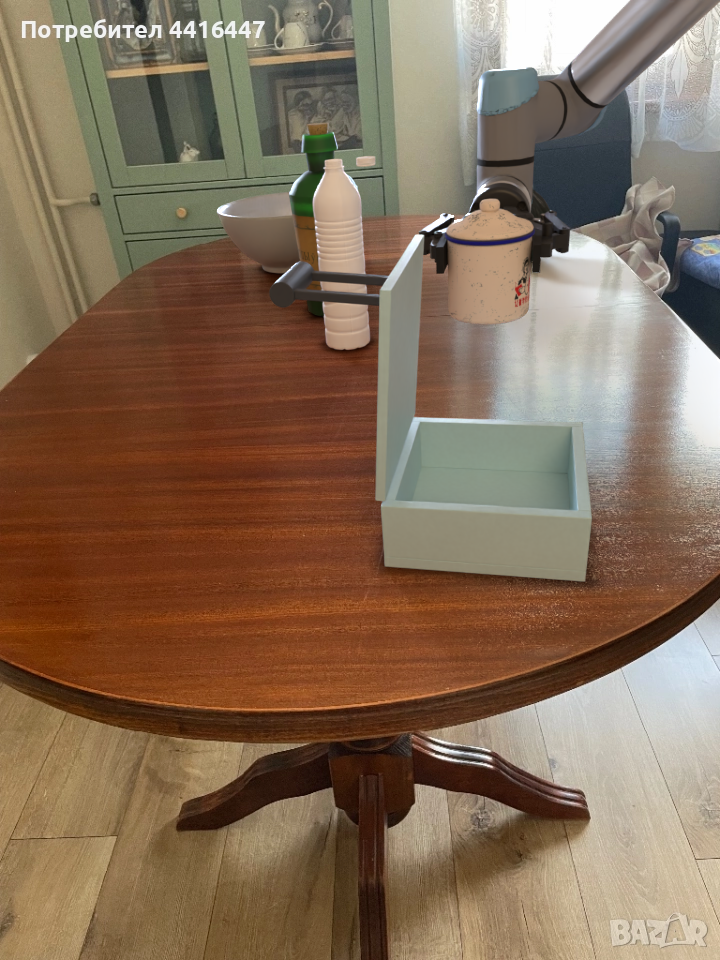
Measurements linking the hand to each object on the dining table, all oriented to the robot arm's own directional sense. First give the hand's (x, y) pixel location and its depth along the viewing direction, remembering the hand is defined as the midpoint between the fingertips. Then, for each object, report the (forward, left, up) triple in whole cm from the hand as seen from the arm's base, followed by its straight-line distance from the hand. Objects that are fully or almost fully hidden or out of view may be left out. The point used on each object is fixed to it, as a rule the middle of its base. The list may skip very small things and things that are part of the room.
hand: (487, 259), depth 73 cm
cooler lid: (+5, +20, -3) cm, 21 cm away
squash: (-1, -69, -18) cm, 71 cm away
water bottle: (+20, -24, -18) cm, 36 cm away
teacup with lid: (0, -5, -7) cm, 8 cm away
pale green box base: (-2, +20, -18) cm, 27 cm away
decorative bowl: (+43, -68, -18) cm, 83 cm away
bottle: (+27, -39, -18) cm, 51 cm away
